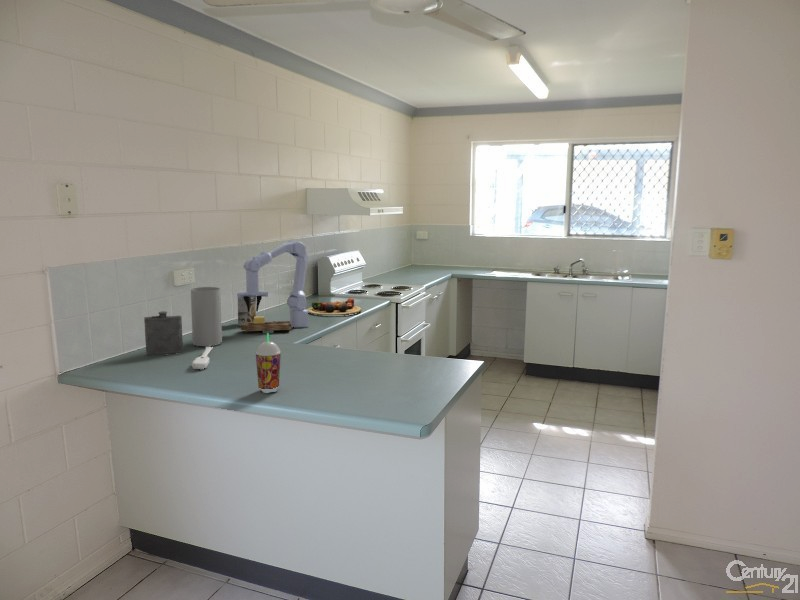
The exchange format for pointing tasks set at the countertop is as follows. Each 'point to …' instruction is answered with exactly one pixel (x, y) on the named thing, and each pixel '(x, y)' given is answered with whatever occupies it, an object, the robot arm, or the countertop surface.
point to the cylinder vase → (206, 316)
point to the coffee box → (246, 310)
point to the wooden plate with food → (334, 308)
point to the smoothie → (268, 364)
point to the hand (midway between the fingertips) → (253, 311)
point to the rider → (259, 319)
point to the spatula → (202, 360)
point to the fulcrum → (268, 331)
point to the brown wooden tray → (266, 326)
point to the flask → (163, 334)
